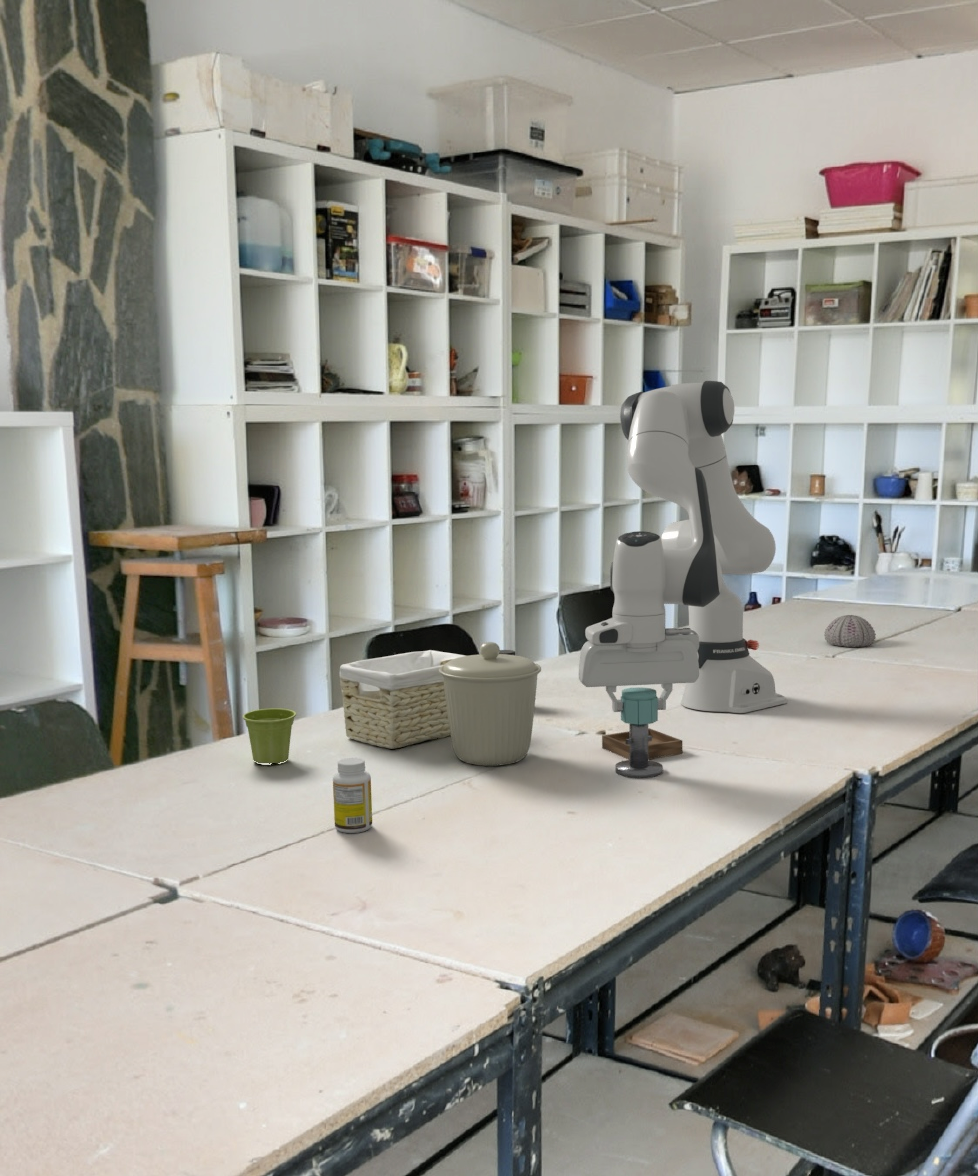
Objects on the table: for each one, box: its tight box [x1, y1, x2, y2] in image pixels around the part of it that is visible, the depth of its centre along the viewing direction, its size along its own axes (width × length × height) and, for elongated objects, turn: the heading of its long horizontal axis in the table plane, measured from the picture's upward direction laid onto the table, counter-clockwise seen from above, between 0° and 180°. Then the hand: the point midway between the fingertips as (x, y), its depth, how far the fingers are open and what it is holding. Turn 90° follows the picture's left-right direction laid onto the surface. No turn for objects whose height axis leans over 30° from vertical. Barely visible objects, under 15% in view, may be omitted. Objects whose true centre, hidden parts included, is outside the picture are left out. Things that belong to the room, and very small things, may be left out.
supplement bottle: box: [332, 757, 373, 834], centre depth 176 cm, size 6×6×10 cm
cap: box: [620, 687, 659, 725], centre depth 203 cm, size 6×6×5 cm
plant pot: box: [242, 708, 297, 764], centre depth 214 cm, size 9×9×9 cm
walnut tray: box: [601, 727, 683, 760], centre depth 217 cm, size 10×10×2 cm
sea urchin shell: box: [823, 614, 877, 648], centre depth 321 cm, size 13×14×8 cm
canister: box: [439, 641, 542, 767], centre depth 212 cm, size 18×18×21 cm
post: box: [614, 723, 664, 779], centre depth 203 cm, size 8×8×11 cm
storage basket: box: [339, 649, 465, 750], centre depth 231 cm, size 24×16×15 cm
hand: (639, 710), depth 203 cm, fingers closed on cap, 6 cm apart
